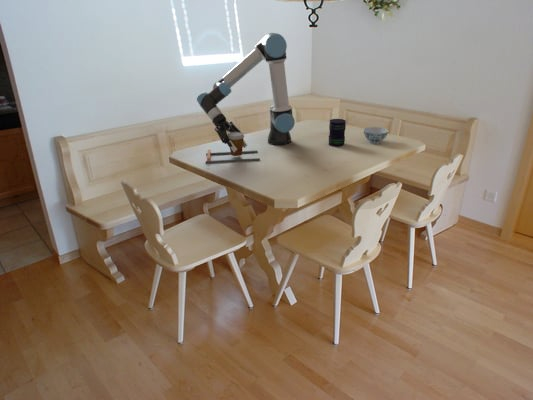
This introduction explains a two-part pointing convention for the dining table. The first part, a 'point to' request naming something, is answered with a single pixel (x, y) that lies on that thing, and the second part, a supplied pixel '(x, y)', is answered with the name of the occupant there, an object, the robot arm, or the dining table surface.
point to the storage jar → (337, 132)
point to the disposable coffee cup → (236, 142)
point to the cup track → (229, 160)
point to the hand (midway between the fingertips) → (240, 148)
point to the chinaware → (375, 134)
